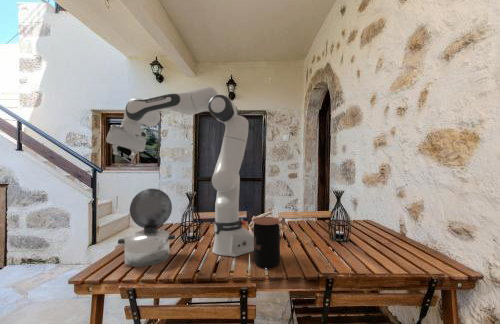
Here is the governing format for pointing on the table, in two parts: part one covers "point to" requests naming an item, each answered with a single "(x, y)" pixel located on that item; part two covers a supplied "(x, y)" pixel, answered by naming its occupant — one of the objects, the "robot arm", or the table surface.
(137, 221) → the lid
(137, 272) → the table surface
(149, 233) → the pot
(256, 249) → the coffee jar
